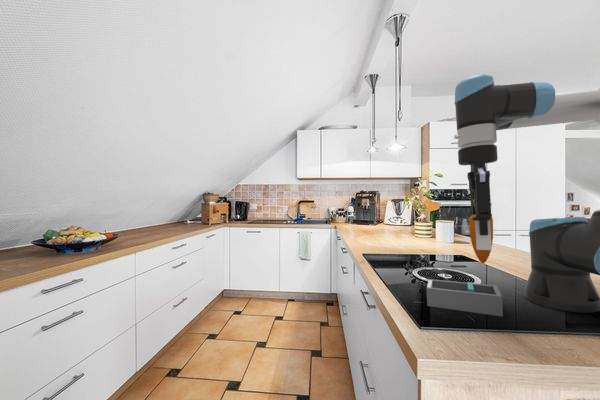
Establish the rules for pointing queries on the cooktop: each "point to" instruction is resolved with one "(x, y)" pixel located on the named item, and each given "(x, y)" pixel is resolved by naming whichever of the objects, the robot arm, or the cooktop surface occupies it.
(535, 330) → the cooktop surface
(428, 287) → the grey open box
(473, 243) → the carrot
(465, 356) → the cooktop surface
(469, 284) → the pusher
